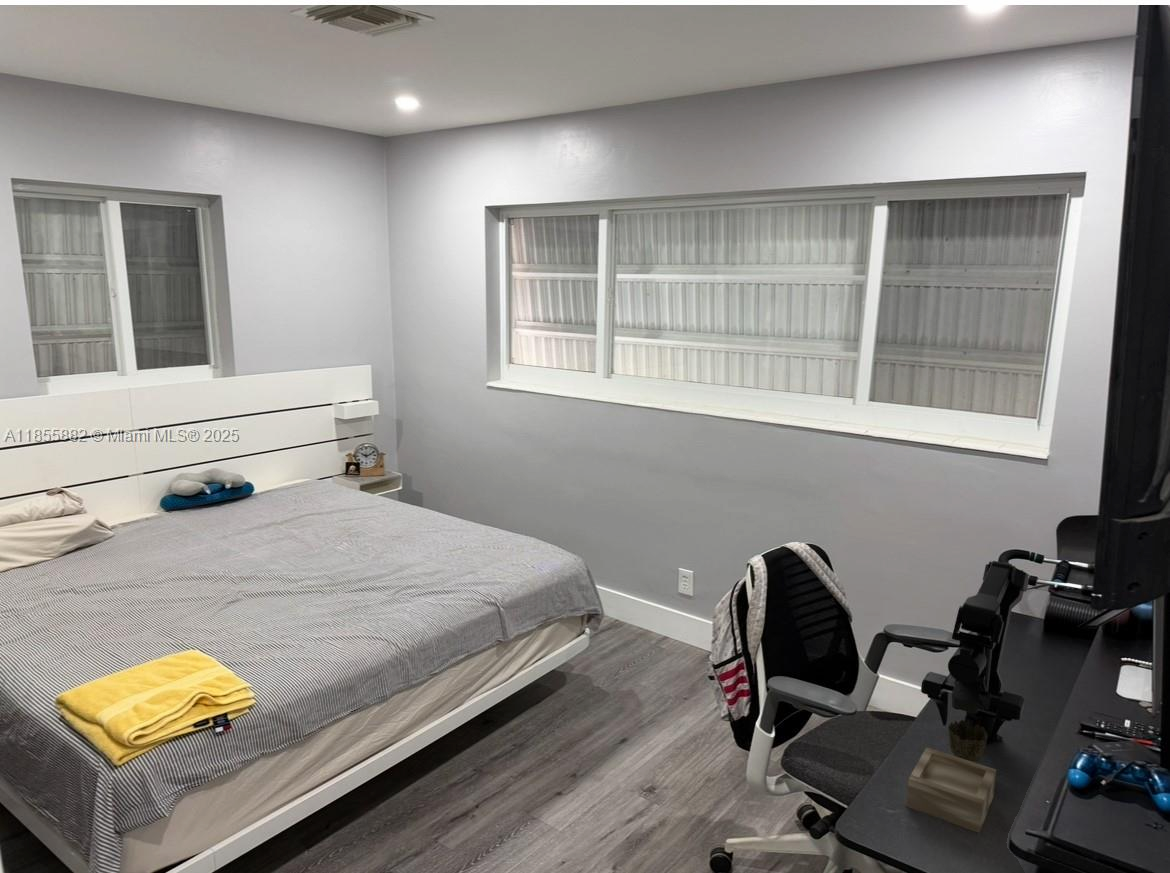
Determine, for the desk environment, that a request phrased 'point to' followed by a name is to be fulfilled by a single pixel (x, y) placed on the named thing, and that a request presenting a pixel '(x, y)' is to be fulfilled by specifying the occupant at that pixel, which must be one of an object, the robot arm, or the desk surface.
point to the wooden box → (951, 789)
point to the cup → (967, 740)
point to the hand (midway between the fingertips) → (968, 732)
